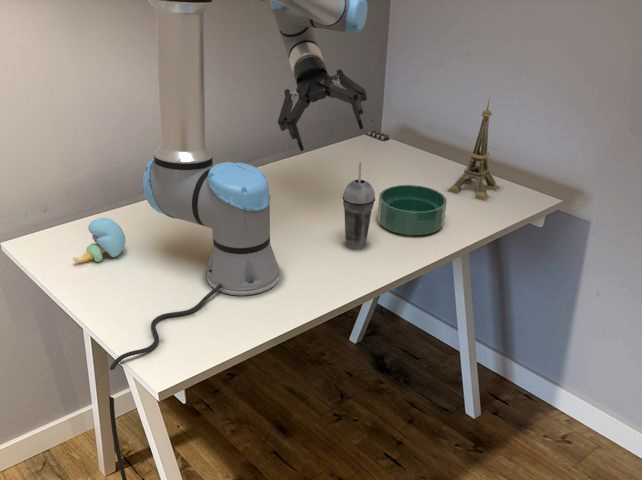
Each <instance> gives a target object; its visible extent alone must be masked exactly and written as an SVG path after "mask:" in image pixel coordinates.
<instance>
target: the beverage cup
mask: <svg viewBox="0 0 642 480" xmlns="http://www.w3.org/2000/svg"><path fill="white" fill-rule="evenodd" d="M357 177H358V178H357V179H355V180H354V179H353V180H352V181H350V182H349V183H348V184H347V185H346V187H344V190H343V194H342V198H341V199H342V204H343V208H344V209H343V210H344V211H343V212H344V236H345V246H346V247H347V248H348V249H350V250H354V251H355V250H357V251H359V250H363V249H365V247H366V243H367V240H368V234H369V229H370V224H371V217H372V209H373V208H374V205H375V201H376V193H375V189H374V187H373V186H372V185H371V183H370V182H368V181H367V180H365V179H362V178H361V177H362V162H358V176H357Z"/></svg>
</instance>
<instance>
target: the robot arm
mask: <svg viewBox="0 0 642 480" xmlns="http://www.w3.org/2000/svg"><path fill="white" fill-rule="evenodd" d="M260 1H262V2H264V1H265V2H266V1H267V0H260ZM268 1H269V6H270V9H271V11H272V14H273V16H274V19H275V22H276V24H277V25H276V26H277V28H278V30H279V34H280V36H281V40H282V43H283V46H284V48H285V52H286V54H287V57H288V61H289V64H290V67H291V68H290V69H291V71H292V74H293V78H294V80H295V85H296V89H294V90H293V89H292V90H290V89H289V88H286V89H284V100H283V101H282V106H281V110H280V113H279V117H278V119H277V124H278V125H279V126H278V127H279V129H280V131H282V132H284V131H286V130H288V133H289V136H290V139H292V140H295V139H296V142H297V143H296V144H297V145H298V148H299V150H300V152H303V151H305V148H304V145H303V142H302V138H301V135H300V131H299V128H298V126H297V124H298V123H299V121H300V118H301V117H302V116H303V113H304V112H305V110H306V109H308V108H309V106H310V104H311V103H316V102H317V101H319V100H320V101H321V100H324V99H326V97H328V98H331V99H337V100H340V101H342V102H345V103H348V104H349V105H351V107H352V111H353V114H354V116H355V120H356V122H357V125H358V128H359V130H363V129H364V125H363V122H362V118H361V115H364V109H363V105H362V102H365V101H367V100H368V97H367V91H366V89H365V88H364V87H363V86H360V84H359V83H357V82H356V81H354V80H352V79H351V78H350V77H348V76H346V75H345V74H344V72H343V70H342V69H339V68H338V69H337V70H336V73H335V74H333V75H330V74H329V73H328V69H327V66H326V63H325V61H324V58H323V55H322V51H321V49H320V47H319V44H318V41H317V37H316V34H315V29H323V30H329V31H335V32H336V31H337V32H342V33H344V34H347V33H351V34H352V33H353V34H358V33H360V32H361V31H362V30H363V29H364V27H365V25H366V22H367V19H368V2H367V0H268ZM147 2H148V3H149V4H150V5H151V6H152V7H153V9H154V12H155V31H156V54H157V55H156V56H157V78H158V80H157V81H158V103H159V124H160V126H159V127H160V128H159V129H160V145H159V146H158V147H157V148H156V149H155V150H154V151H153V158H151V159H150V160H149V161H148V163H147V164H146V166H145V169H146V171H144V172H143V176H142V189H143V194H144V197H145V200H146V201H147V203H148V204H149V206H150V207H151V208H152V209H153V210H155V212H157V213H159V214H163V215H165V216H166V217H169V218H171V219H177V220H181V221H184V222H188V223H192V224H195V225H200V226H202V227H206V228H210V229H211V231H212V241H213V242H212V249H211V253H210V256H209V260H208V264H207V266H206V280H207V283H208V284H209V286H210V287H211V288H212V289H211V291H210V292H208V293H207V294H206V295H205V296H203V298H202V299H200V301H199V302H198V303H197V304H196V305H194V306H193V307H190V308H189V309H186V310H180V311H173V312H167V313H163V314H160V315H158V316H156V317H155V318H154V319H153V320H152V321H151V325H150V329H151V332H152V335H153V339H154V340H153V342H152V343H151V344H150V345H149V346H147V347H143V348H139V349H136V350H135V349H134V350H131V351H127V352H125V353H122V354H121V355H119V356H118V357H117V358H115V360H113V362H112V363H111V365H110V367H109V370H110V371H113V370H115V368H116V367H118V364H119V363H121V361H123V360H124V359H126V358H130V357H133V356H137V355H142V354H147V353H148V352H151V351H153V350H154V349H155V348H156V347H157V346H158V344H159V343H160V342H159V341H160V337H159V333H158V330H157V328H156V324H157V323H158V322H160V321H161V320H163V319H166V318H173V317H179V316H185V315H189V314H192V313H194V312H196V311H197V310H199V309H200V308H201V307H203V305H204V304H205V303H206V302H207V301H209V299H210V298H211V297H212V296H214V294H216V293H217V292H220V293H223V294H226V295H230V296H251V295H252V296H253V295H257V294H258V295H259V294H261V293H265V292H266V291H269V290H270V289H272V288H273V287H275V286H276V285H277V284H278V282H279V280H280V266H279V263H278V261H277V259H276V256H275V253H274V250H273V247H272V243H271V194H270V186H269V185H270V184H269V180H268V178H267V176H266V175H265V173H264V172H263V171H262V170H261V169H259V168H257V167H255V166H254V165H251V164H247V163H244V162H239V161H238V162H237V161H236V162H232V161H226V162H225V161H224V162H220V163H217V164H213V161H214V160H213V157H214V156H213V152H212V151H211V150H210V149H209V148H208V147H207V146H206V123H205V121H206V117H205V116H206V115H205V112H206V109H205V108H206V107H205V106H206V105H205V104H206V103H205V17H204V16H205V11H207V10H208V9H209V8H210V6H212V5H213V0H147ZM334 83H336V84H338V85H339V86H337V85H335V84H334ZM340 85H341V86H342V87H343V88H342V87H340ZM296 97H298V98H297V101H296ZM295 101H296V102H295ZM294 102H295V104H294ZM108 400H109V417H110V426H111V433H112V438H113V446H114V450H115V455H116V459H117V463H118V467H119V472H120V476H121V480H127V475H126V469H125V466H124V461H123V457H122V452H121V447H120V443H119V437H118V436H119V435H118V429H117V423H116V410H115V398H114V397H113V396H110V395H109V396H108Z"/></svg>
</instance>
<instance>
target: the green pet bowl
mask: <svg viewBox="0 0 642 480" xmlns="http://www.w3.org/2000/svg"><path fill="white" fill-rule="evenodd" d="M377 206H378V207H377V217H376V219H377V220H376V221H377V222H378V224H379V225H380V226H382V227H383V228H385V229H387V230H388V231H391V232H393V233H395V234H396V233H397V234H401V235H408V236H421V235H429V234H433V233H435V232H437V231H439V230H441V229H442V227H443V226H444V223H445V217H446V210H447V197H446V196H445V195H444V194H443V193H442V192H440V191H438V190H436V189H434V188H431V187H428V186H423V185H416V184H398V185H394V186H389V187H387V188H385V189H383V190H382V191H381V192H380V193H379V195H378V205H377Z"/></svg>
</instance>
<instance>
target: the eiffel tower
mask: <svg viewBox="0 0 642 480" xmlns="http://www.w3.org/2000/svg"><path fill="white" fill-rule="evenodd" d="M490 98H491V95H489V99H488V100H487V101H488V102H487V105H486V109H484V110H482V113H481V114H480V116H482V120H481V122H480V123H481V124H480V128H479V131H478V133H477V134H478V135H477V137H476V142H475V145H474V148H473V150H472V152H470V154H469V156H470V159H469V161H468V164H467V165H466V167H465V169H463V173H462V175H461V176H460V177H459V178H457V180H456V181H455V183H453V185H452V186H451V187H450V188H448V189H447V192H449V193H454V194H458V193H460V192H461V191H462V186H463V185H464V184H467V185H469V184H470V183H472V182H473V180H475V181H476V182H477V193H476V195H475V197H474V199H477V200H481V201H486V200H487V199H489V198H490V195H488V192H487V190H491V191H495V192H496V191H497V190H498V189H500V186H499V185H498V184H497V182H496V180H495V178H494V176H493V175H492V173H491V172H490V169H491V168H490V167H489V164H488V157H490V152H489V151H488V141H489V140H488V138H489V123H490V117H491V116H492V115H493V114H492V112H493V111H492V110H489V105H490V100H491V99H490ZM477 162H479V165H477ZM484 181H485V183H486V186H485V184H484Z"/></svg>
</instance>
